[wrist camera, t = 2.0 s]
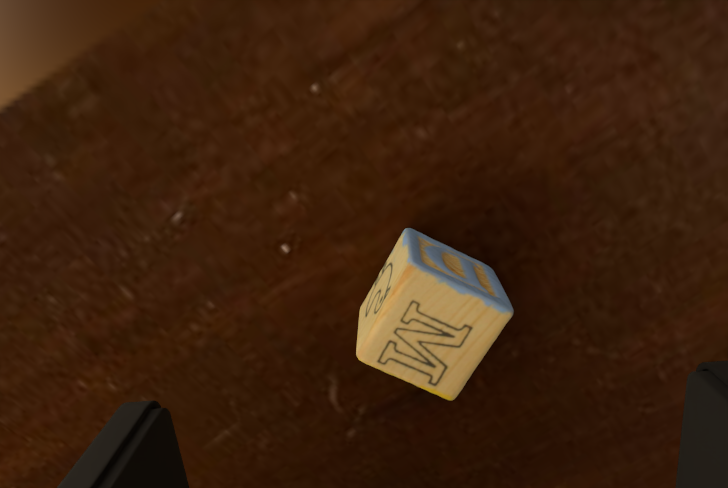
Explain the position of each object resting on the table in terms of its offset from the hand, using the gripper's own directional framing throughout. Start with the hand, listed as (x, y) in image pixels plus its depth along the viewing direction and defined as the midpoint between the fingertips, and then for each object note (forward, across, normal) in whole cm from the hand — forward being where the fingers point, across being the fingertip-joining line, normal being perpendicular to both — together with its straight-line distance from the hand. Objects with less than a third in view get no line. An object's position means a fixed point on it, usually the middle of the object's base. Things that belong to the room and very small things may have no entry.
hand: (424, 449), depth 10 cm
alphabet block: (+7, -1, 0) cm, 7 cm away
